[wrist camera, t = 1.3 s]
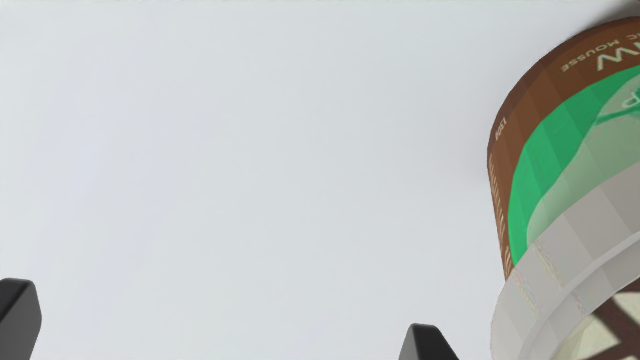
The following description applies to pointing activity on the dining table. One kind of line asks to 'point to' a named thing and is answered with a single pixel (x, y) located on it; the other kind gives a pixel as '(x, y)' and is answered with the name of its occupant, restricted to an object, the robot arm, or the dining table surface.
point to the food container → (570, 202)
